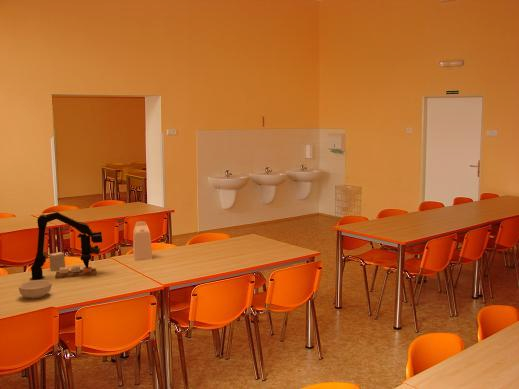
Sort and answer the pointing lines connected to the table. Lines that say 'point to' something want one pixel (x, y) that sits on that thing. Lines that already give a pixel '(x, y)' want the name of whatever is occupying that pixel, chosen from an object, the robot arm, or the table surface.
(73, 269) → the tile two pip
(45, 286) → the cereal bowl
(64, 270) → the tile one pip
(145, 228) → the milk
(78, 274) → the tile tray
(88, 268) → the tile three pip
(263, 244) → the table surface
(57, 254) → the small box
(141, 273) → the table surface
